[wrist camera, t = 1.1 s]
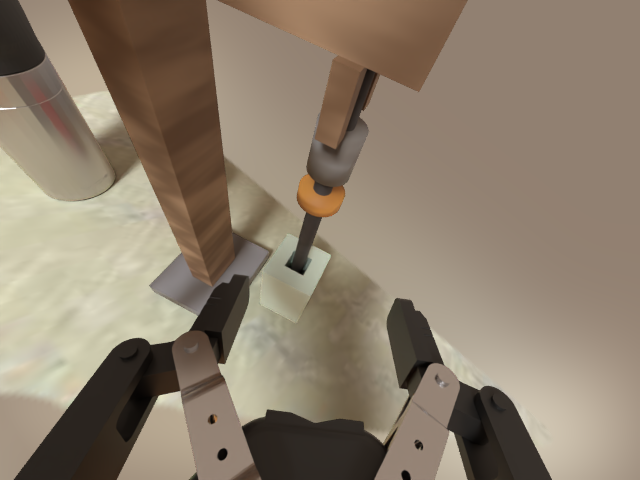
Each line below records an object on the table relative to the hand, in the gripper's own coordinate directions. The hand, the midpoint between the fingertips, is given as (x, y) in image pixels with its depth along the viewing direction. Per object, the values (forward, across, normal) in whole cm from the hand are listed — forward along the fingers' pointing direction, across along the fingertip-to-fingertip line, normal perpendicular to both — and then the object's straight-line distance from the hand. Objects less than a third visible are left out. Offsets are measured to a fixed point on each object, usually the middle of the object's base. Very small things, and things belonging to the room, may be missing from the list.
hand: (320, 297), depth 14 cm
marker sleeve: (+13, +3, +13) cm, 19 cm away
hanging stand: (+16, +10, +16) cm, 25 cm away
